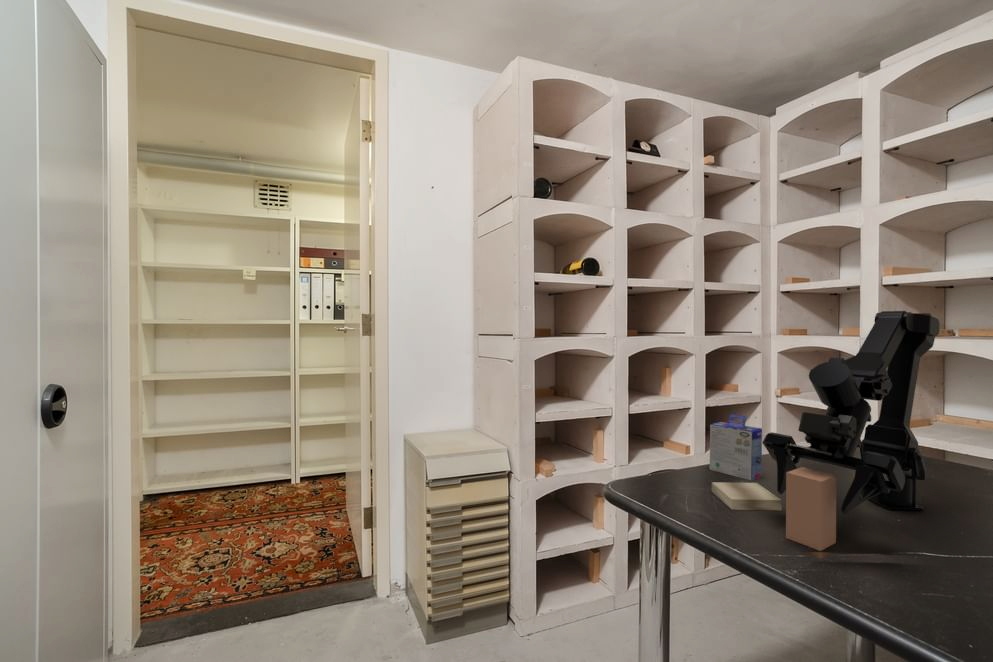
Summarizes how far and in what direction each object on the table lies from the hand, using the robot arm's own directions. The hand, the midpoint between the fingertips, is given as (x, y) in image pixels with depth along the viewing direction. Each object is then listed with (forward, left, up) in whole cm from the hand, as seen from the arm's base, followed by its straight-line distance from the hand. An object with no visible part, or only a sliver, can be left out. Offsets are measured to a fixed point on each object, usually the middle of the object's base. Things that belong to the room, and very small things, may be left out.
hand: (809, 501), depth 72 cm
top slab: (+2, -16, -6) cm, 18 cm away
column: (0, 0, -8) cm, 8 cm away
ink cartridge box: (-3, -33, -8) cm, 34 cm away
